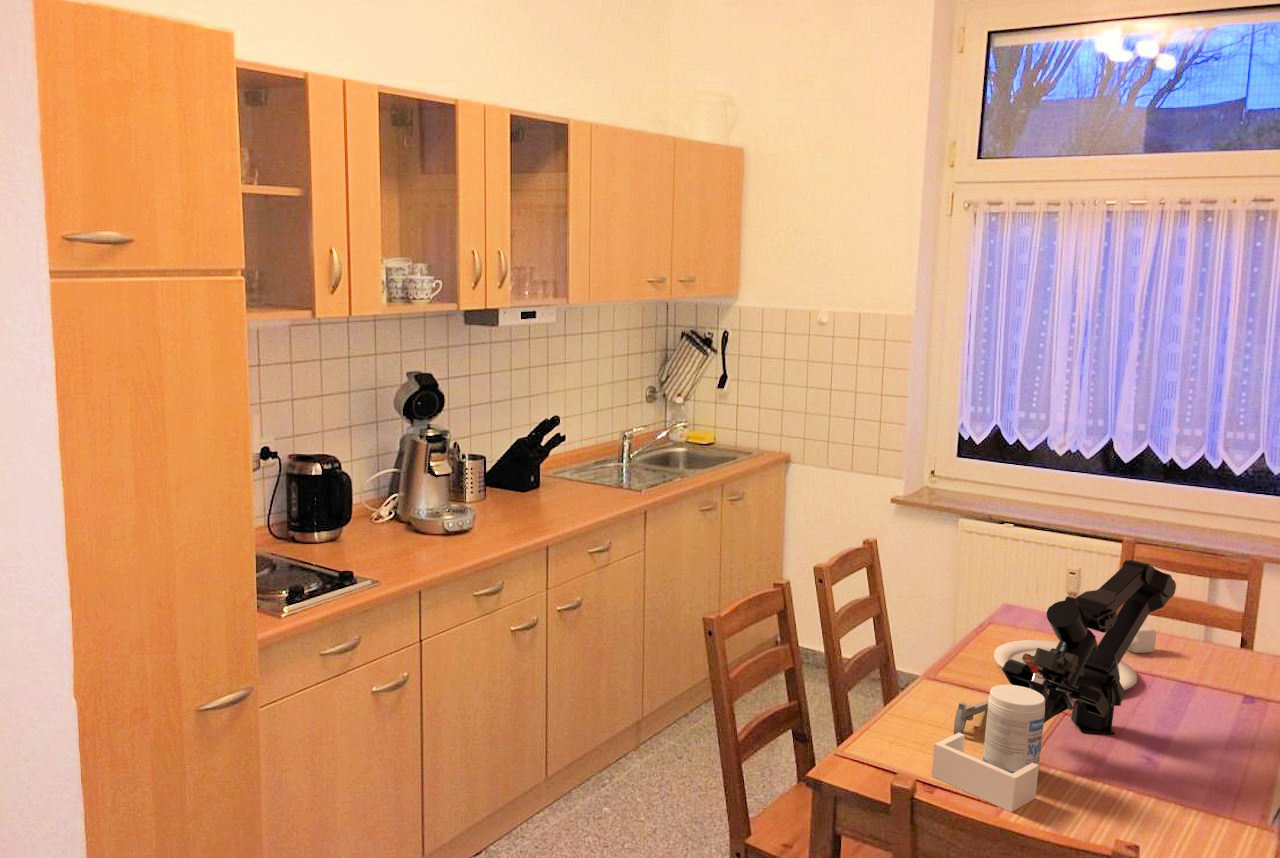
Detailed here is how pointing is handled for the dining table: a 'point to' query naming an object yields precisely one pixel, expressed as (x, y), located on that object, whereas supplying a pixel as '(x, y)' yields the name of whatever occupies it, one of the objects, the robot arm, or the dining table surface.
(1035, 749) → the supplement tub
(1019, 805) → the cradle
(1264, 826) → the dining table surface
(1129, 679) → the plated food
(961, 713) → the caliper
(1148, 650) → the power adapter
